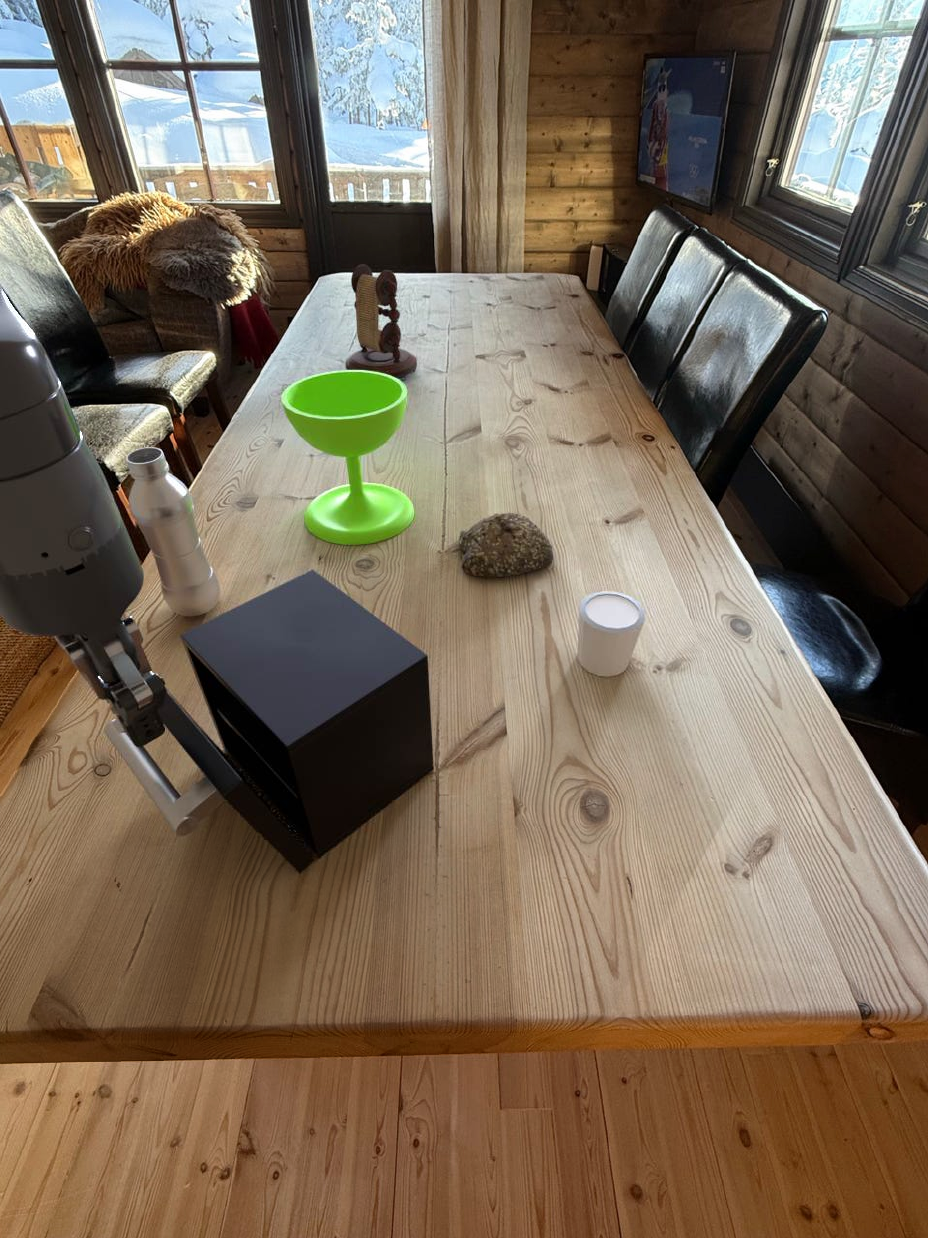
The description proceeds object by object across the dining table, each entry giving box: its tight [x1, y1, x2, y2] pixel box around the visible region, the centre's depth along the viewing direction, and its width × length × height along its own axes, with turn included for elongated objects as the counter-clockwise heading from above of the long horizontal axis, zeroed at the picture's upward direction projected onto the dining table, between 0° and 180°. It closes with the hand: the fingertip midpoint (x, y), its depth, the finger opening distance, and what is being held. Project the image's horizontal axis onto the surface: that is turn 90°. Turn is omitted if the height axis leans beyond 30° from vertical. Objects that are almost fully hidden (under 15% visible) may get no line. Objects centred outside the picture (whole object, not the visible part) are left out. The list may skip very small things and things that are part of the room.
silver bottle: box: [125, 446, 221, 617], centre depth 74 cm, size 6×7×20 cm
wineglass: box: [281, 369, 416, 546], centre depth 90 cm, size 16×16×18 cm
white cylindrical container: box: [577, 590, 646, 678], centre depth 71 cm, size 7×7×7 cm
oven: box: [179, 568, 435, 860], centre depth 58 cm, size 13×16×15 cm
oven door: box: [103, 688, 315, 874], centre depth 52 cm, size 5×16×15 cm, turn 44°
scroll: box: [344, 264, 418, 379], centre depth 131 cm, size 15×15×20 cm
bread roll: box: [457, 512, 554, 578], centre depth 87 cm, size 13×12×5 cm
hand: (148, 735), depth 46 cm, fingers closed
